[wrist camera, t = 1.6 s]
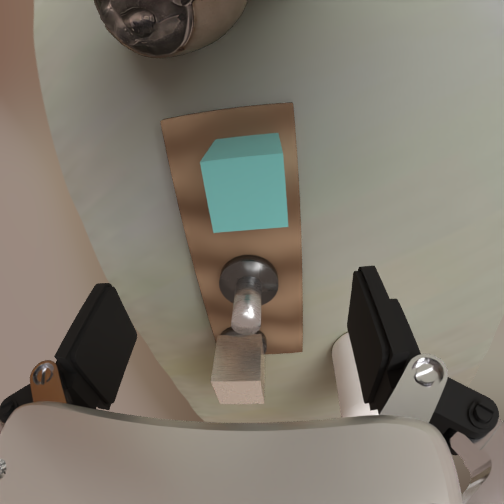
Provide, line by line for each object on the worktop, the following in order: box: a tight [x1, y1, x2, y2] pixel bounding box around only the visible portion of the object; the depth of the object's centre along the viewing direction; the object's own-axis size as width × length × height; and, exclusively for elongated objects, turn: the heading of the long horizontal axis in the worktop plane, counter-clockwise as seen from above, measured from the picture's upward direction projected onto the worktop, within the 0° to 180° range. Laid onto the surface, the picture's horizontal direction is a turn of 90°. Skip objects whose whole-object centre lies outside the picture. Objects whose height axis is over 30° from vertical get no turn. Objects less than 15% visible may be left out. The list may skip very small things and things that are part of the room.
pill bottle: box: [332, 332, 379, 418], centre depth 33 cm, size 8×8×15 cm
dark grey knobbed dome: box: [219, 255, 278, 335], centre depth 29 cm, size 6×6×7 cm
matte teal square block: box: [200, 133, 288, 233], centre depth 22 cm, size 5×5×7 cm
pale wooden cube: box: [211, 326, 267, 404], centre depth 34 cm, size 6×6×8 cm
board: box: [160, 102, 303, 354], centre depth 31 cm, size 30×11×1 cm, turn 6°
